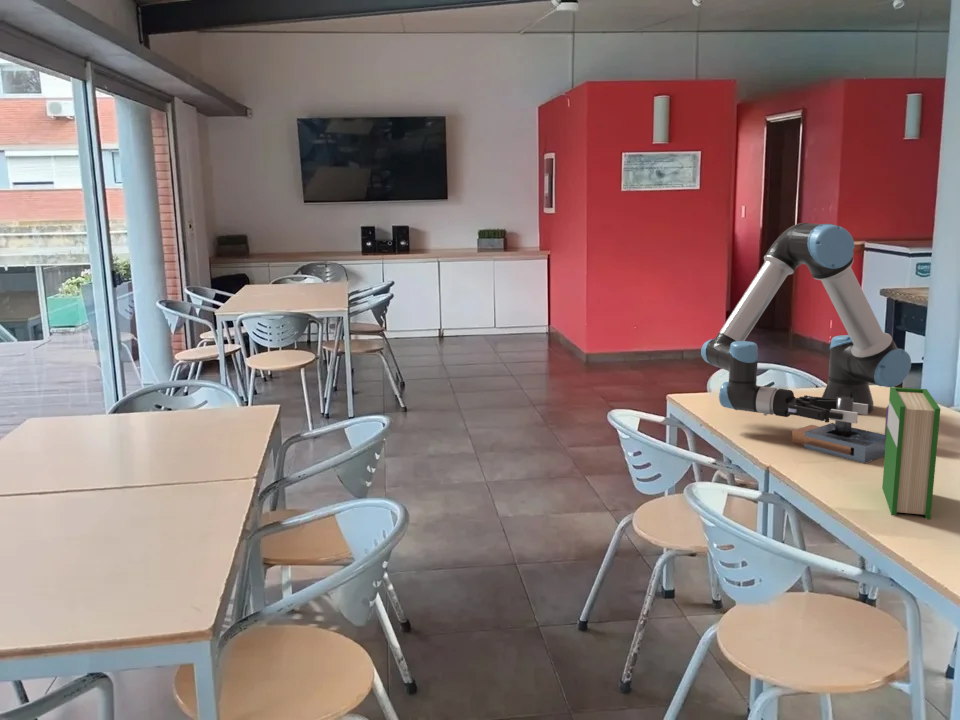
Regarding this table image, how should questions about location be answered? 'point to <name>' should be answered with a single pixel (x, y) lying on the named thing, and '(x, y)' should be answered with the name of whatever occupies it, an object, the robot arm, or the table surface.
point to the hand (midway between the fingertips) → (862, 413)
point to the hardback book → (910, 451)
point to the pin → (840, 426)
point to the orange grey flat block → (841, 442)
